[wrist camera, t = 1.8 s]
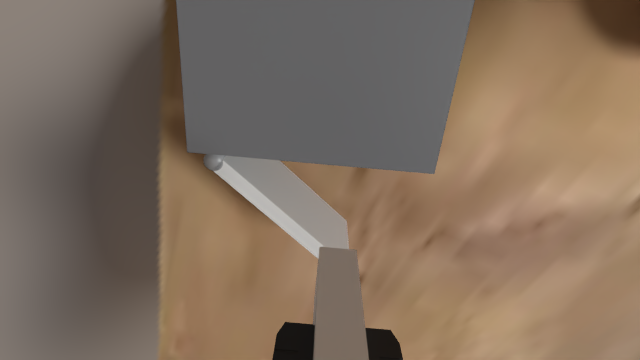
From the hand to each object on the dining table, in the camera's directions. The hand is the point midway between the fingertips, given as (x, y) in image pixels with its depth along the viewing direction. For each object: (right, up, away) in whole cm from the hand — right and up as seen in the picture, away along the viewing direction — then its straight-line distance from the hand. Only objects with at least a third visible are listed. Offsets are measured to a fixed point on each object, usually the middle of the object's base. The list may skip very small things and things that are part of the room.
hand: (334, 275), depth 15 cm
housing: (0, +14, +11) cm, 18 cm away
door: (-3, +4, +14) cm, 15 cm away
